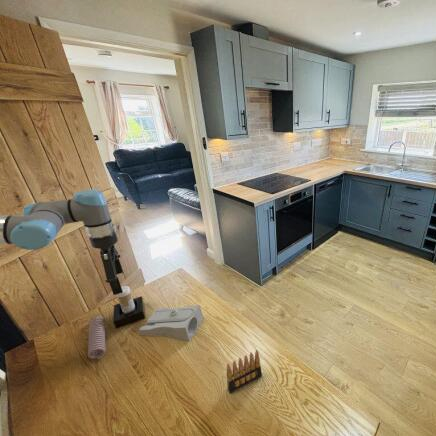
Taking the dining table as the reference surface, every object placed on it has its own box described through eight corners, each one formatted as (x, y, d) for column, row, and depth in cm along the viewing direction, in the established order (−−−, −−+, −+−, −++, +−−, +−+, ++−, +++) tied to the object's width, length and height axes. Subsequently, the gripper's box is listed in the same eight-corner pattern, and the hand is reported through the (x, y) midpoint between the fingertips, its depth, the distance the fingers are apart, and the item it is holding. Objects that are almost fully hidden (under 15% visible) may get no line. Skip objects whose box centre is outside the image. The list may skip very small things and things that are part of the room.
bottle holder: (115, 329, 92) (112, 321, 90) (116, 312, 100) (114, 305, 98) (145, 318, 97) (143, 311, 95) (144, 303, 104) (141, 296, 103)
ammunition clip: (259, 371, 78) (258, 346, 73) (262, 376, 76) (260, 350, 72) (227, 388, 73) (223, 362, 68) (229, 393, 72) (225, 367, 67)
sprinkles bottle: (121, 318, 96) (112, 293, 91) (129, 310, 100) (121, 285, 95) (132, 319, 96) (123, 294, 90) (140, 311, 100) (131, 286, 95)
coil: (104, 347, 80) (103, 313, 93) (86, 353, 77) (88, 318, 90) (106, 357, 82) (105, 322, 95) (89, 363, 79) (90, 327, 92)
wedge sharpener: (189, 341, 88) (186, 327, 85) (140, 334, 90) (135, 321, 87) (203, 318, 97) (201, 305, 95) (158, 312, 100) (154, 300, 97)
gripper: (113, 247, 75) (130, 299, 83) (116, 219, 94) (129, 263, 103) (83, 253, 71) (104, 307, 80) (92, 223, 90) (108, 268, 99)
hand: (118, 282), depth 91 cm, fingers open, 13 cm apart
